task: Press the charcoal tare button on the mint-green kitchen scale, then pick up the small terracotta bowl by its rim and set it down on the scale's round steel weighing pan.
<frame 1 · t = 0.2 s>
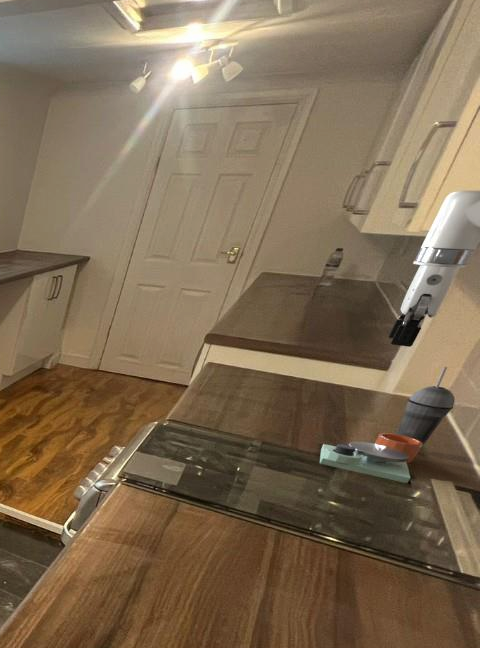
hand: (399, 341, 125), 26 cm above the worktop, tool pointing down, fingers open, 9 cm apart
beverage cup: (404, 450, 139), on the worktop
scale pan: (370, 465, 130), resting on scale
scale: (361, 465, 129), on the worktop
bowl: (389, 458, 134), on the worktop
tare button: (344, 450, 128), point 4 cm above the worktop, slide at 0.2 cm
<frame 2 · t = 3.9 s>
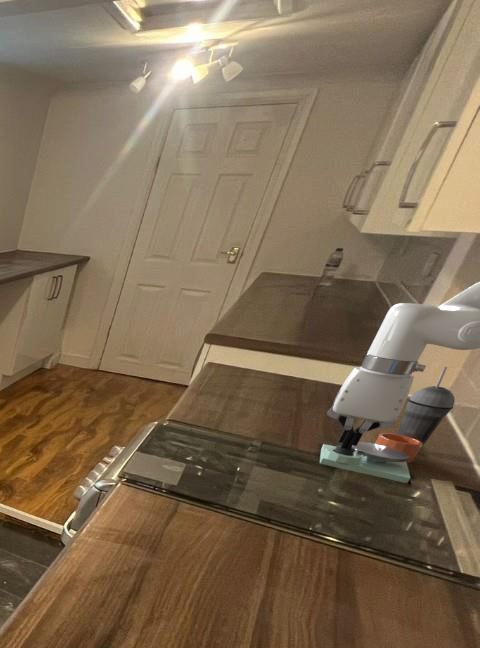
hand: (345, 446, 128), 4 cm above the worktop, tool pointing down, fingers closed
tare button: (344, 450, 128), point 3 cm above the worktop, slide at 0.0 cm, touching gripper
everything else where it was.
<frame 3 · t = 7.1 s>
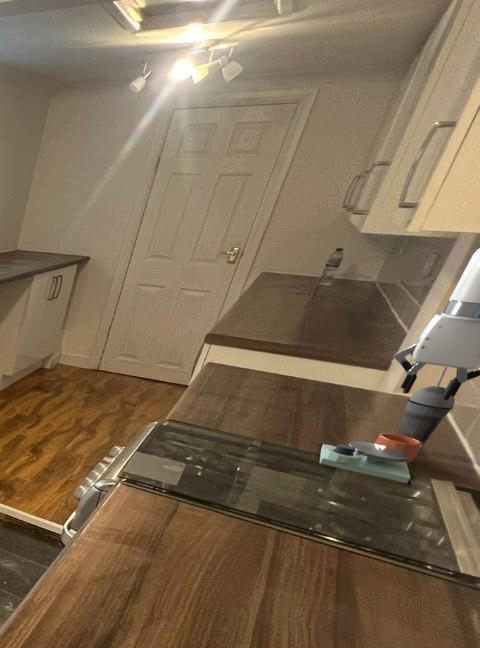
hand: (425, 394, 127), 15 cm above the worktop, tool pointing down, fingers open, 5 cm apart
tare button: (344, 450, 128), point 4 cm above the worktop, slide at 0.2 cm
everything else where it was.
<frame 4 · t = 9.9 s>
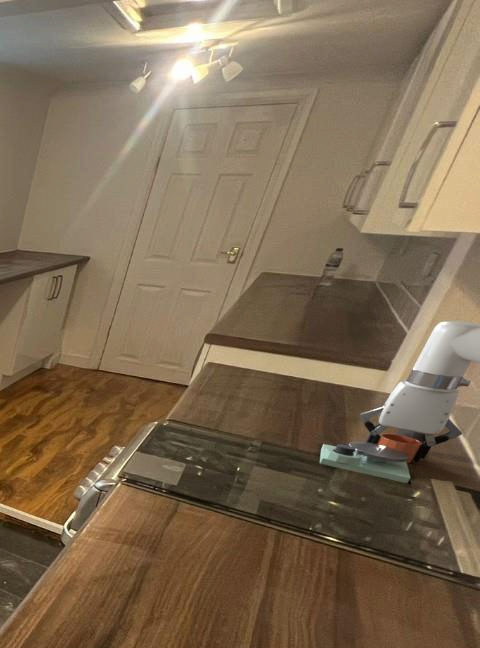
hand: (391, 454, 133), 1 cm above the worktop, tool pointing down, fingers closed on bowl, 7 cm apart
bowl: (389, 458, 134), on the worktop, touching gripper
everything else where it was.
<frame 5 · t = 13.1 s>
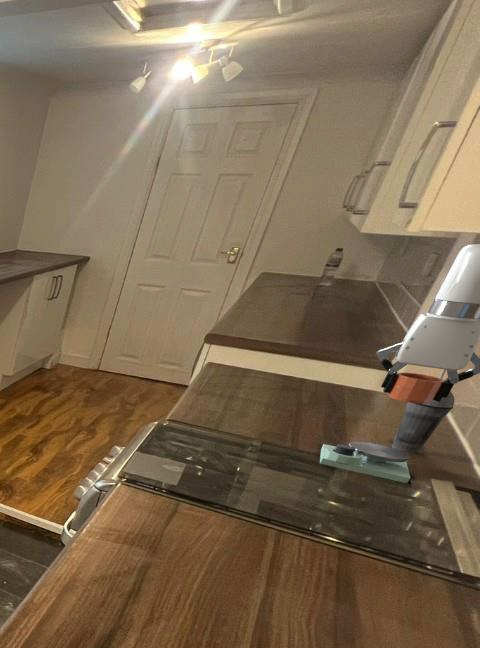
hand: (410, 395, 123), 16 cm above the worktop, tool pointing down, fingers closed on bowl, 7 cm apart
bowl: (408, 399, 124), point 15 cm above the worktop, touching gripper
everything else where it was.
when the fingers open (5 cm above the worktop, at t = 16.3 s): bowl stays where it is, resting on scale pan.
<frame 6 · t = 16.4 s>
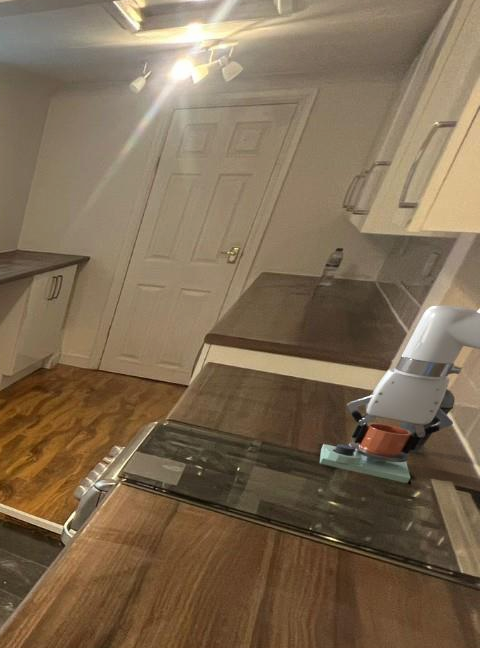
hand: (380, 445, 128), 5 cm above the worktop, tool pointing down, fingers open, 7 cm apart
bowl: (378, 449, 128), point 4 cm above the worktop, touching scale pan
everything else where it was.
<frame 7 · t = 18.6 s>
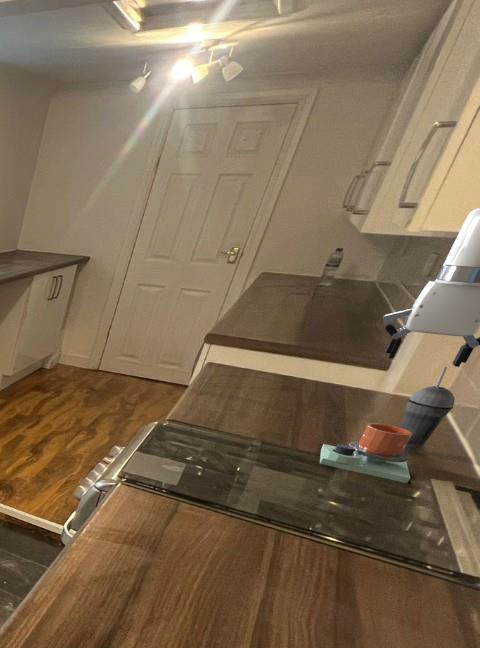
hand: (422, 361, 122), 23 cm above the worktop, tool pointing down, fingers open, 9 cm apart
nothing on the worktop moved.
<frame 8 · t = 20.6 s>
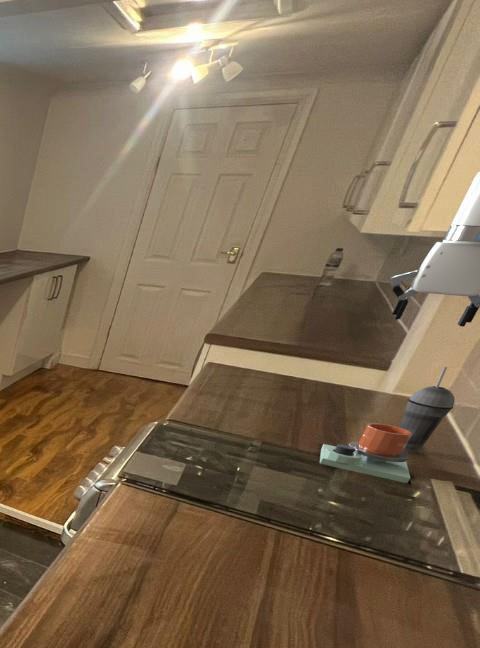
hand: (427, 322, 124), 30 cm above the worktop, tool pointing down, fingers open, 9 cm apart
nothing on the worktop moved.
at the end: tare button pushed in 0.9 cm at the most during the clip, back to 0.2 cm at the end; bowl 0.1 cm off-centre on the scale pan, point 3.8 cm above the scale pan's base; bowl tilted 0° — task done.
